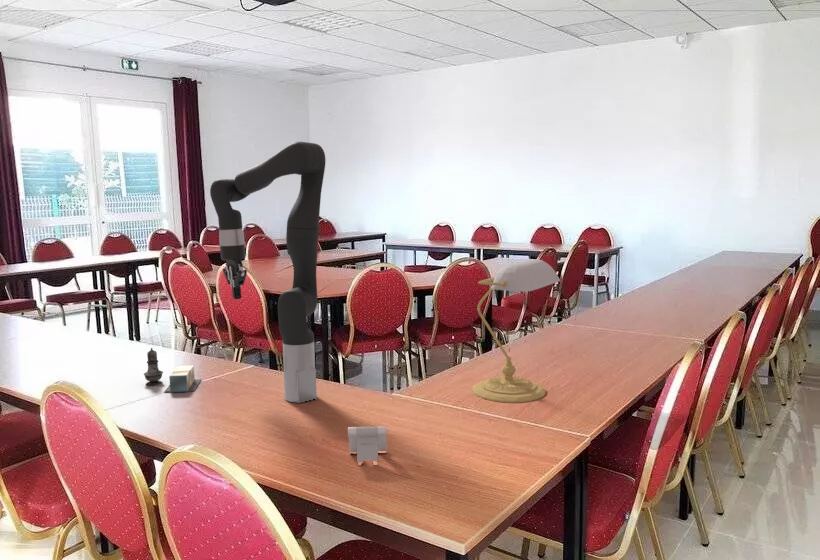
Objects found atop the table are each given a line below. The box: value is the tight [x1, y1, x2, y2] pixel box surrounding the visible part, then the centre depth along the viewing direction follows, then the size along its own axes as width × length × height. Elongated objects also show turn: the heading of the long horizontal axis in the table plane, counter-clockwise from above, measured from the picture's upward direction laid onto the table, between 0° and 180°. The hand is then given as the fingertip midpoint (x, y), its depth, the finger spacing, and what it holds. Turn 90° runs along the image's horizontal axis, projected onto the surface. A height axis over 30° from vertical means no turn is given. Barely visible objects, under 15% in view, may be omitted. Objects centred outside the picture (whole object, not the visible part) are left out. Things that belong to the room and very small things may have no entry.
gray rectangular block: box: [163, 378, 202, 393], centre depth 208 cm, size 12×9×1 cm
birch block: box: [169, 364, 196, 393], centre depth 207 cm, size 5×5×12 cm
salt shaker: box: [143, 347, 164, 387], centre depth 211 cm, size 6×6×12 cm
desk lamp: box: [471, 258, 561, 404], centre depth 197 cm, size 31×23×40 cm
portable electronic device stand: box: [347, 425, 388, 463], centre depth 150 cm, size 9×8×8 cm
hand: (237, 298), depth 205 cm, fingers closed
